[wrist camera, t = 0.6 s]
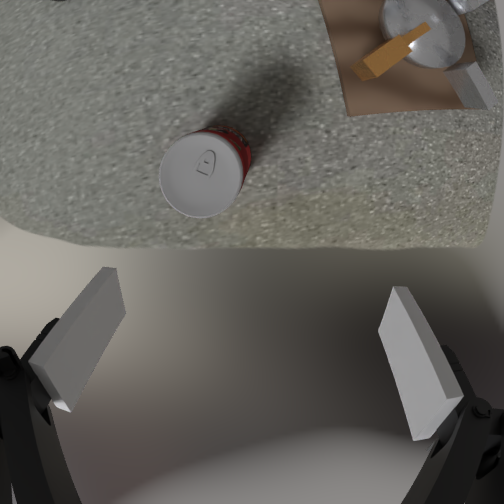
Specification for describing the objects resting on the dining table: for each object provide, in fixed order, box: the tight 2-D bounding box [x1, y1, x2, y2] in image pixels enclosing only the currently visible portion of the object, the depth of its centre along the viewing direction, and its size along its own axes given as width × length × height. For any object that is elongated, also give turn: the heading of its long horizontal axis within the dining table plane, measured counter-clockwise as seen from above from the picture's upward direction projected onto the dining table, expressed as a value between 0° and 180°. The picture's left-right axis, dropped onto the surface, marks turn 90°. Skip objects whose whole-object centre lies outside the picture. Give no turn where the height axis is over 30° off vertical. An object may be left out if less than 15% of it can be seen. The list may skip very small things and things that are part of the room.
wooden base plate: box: [318, 0, 477, 117], centre depth 25 cm, size 20×20×4 cm
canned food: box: [159, 125, 251, 218], centre depth 31 cm, size 8×8×11 cm
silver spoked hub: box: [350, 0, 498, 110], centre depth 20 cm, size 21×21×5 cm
